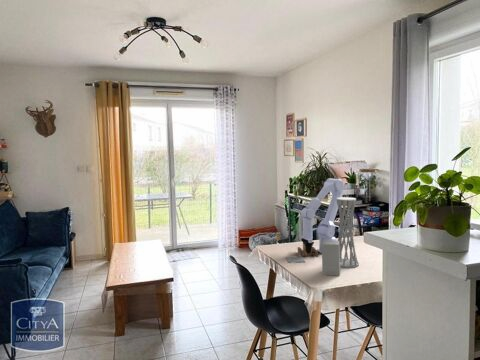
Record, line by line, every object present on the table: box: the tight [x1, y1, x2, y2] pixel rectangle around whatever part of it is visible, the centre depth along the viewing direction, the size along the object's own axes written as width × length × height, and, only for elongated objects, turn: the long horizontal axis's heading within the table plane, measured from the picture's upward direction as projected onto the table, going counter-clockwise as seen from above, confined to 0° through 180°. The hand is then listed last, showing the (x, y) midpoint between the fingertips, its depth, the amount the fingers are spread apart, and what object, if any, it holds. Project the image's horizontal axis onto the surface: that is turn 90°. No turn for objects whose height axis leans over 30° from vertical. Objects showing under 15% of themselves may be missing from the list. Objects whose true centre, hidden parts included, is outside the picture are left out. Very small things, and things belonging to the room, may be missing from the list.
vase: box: [337, 196, 360, 269], centre depth 185 cm, size 14×13×35 cm
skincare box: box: [321, 240, 341, 277], centre depth 172 cm, size 8×7×16 cm
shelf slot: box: [297, 246, 319, 258], centre depth 205 cm, size 10×10×3 cm
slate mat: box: [285, 256, 306, 264], centre depth 195 cm, size 9×9×1 cm
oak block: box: [302, 242, 313, 257], centre depth 205 cm, size 4×4×6 cm
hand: (307, 252), depth 205 cm, fingers closed on oak block, 4 cm apart
